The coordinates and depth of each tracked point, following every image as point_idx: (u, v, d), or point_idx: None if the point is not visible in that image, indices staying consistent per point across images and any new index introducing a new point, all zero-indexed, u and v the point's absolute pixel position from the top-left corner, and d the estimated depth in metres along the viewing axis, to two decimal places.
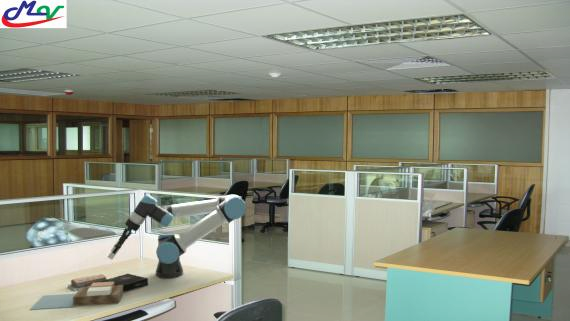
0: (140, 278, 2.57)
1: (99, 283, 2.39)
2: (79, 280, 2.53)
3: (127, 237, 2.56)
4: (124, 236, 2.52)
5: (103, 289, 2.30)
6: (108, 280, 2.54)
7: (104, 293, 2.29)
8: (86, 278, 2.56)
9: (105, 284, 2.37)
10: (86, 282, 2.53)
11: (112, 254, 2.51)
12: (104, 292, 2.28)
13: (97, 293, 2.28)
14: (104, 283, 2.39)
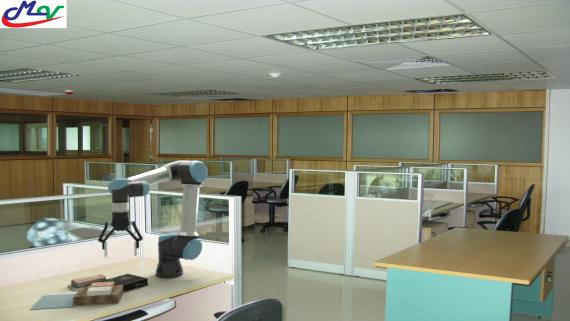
0: (140, 278, 2.57)
1: (99, 283, 2.39)
2: (79, 280, 2.53)
3: (129, 228, 2.34)
4: (136, 227, 2.33)
5: (103, 289, 2.30)
6: (108, 280, 2.54)
7: (104, 293, 2.29)
8: (86, 278, 2.56)
9: (105, 284, 2.37)
10: (86, 282, 2.53)
11: (136, 250, 2.34)
12: (104, 292, 2.28)
13: (97, 293, 2.28)
14: (104, 283, 2.39)
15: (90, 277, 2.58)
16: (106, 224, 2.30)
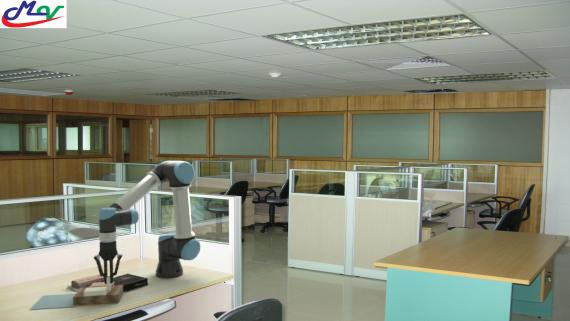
0: (140, 278, 2.57)
1: (99, 283, 2.39)
2: (80, 281, 2.52)
3: None
4: (119, 261, 2.32)
5: (100, 289, 2.30)
6: None
7: (101, 293, 2.28)
8: (86, 278, 2.55)
9: (105, 284, 2.37)
10: (88, 282, 2.53)
11: (110, 285, 2.32)
12: (101, 292, 2.28)
13: (94, 293, 2.28)
14: (104, 283, 2.39)
15: (90, 277, 2.57)
16: (95, 258, 2.29)
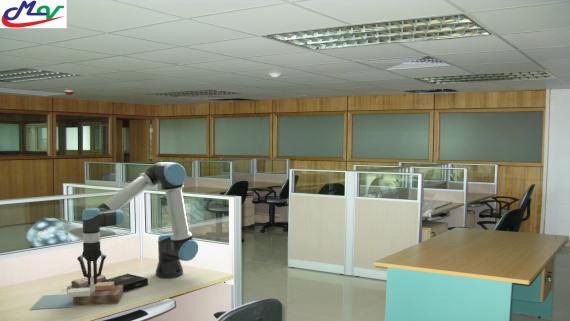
0: (140, 278, 2.57)
1: (99, 283, 2.39)
2: (80, 281, 2.52)
3: (96, 260, 2.31)
4: (103, 262, 2.30)
5: (83, 290, 2.29)
6: (108, 280, 2.54)
7: (84, 294, 2.27)
8: (87, 278, 2.55)
9: (105, 284, 2.37)
10: None
11: (94, 286, 2.30)
12: (84, 293, 2.27)
13: (77, 294, 2.26)
14: (104, 283, 2.39)
15: None
16: (79, 259, 2.27)
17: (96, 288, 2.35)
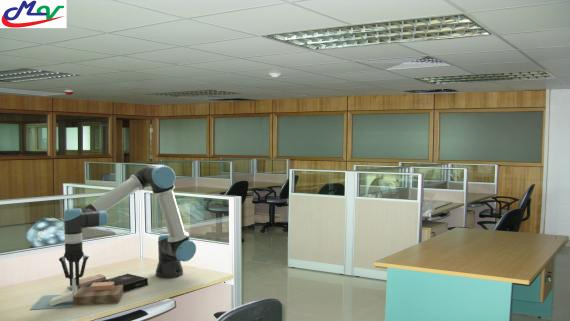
0: (140, 278, 2.57)
1: (99, 283, 2.39)
2: (81, 281, 2.52)
3: None
4: (85, 263, 2.29)
5: (65, 295, 2.27)
6: (108, 280, 2.54)
7: (67, 298, 2.26)
8: (87, 278, 2.55)
9: (105, 284, 2.37)
10: (88, 282, 2.52)
11: (76, 287, 2.29)
12: (66, 298, 2.26)
13: (60, 300, 2.25)
14: (104, 283, 2.39)
15: (90, 277, 2.57)
16: (61, 260, 2.26)
17: (96, 288, 2.35)
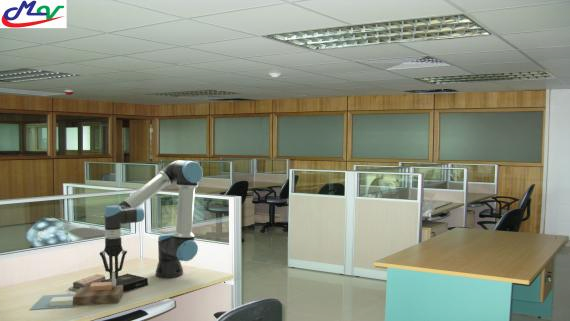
0: (140, 278, 2.57)
1: (98, 283, 2.39)
2: (83, 281, 2.51)
3: None
4: (124, 257, 2.40)
5: (66, 299, 2.28)
6: (108, 280, 2.54)
7: (67, 303, 2.26)
8: (88, 279, 2.54)
9: (104, 284, 2.37)
10: (91, 282, 2.52)
11: (115, 280, 2.40)
12: (67, 302, 2.26)
13: (60, 303, 2.25)
14: (103, 283, 2.39)
15: (90, 278, 2.57)
16: (101, 254, 2.37)
17: (95, 288, 2.35)
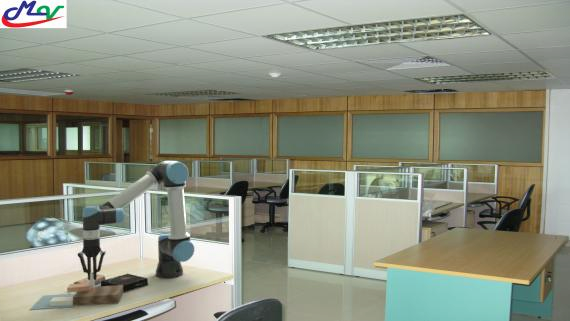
0: (140, 278, 2.57)
1: (76, 284, 2.37)
2: (84, 281, 2.50)
3: (96, 256, 2.39)
4: (102, 258, 2.38)
5: (66, 299, 2.28)
6: (108, 280, 2.54)
7: (67, 303, 2.26)
8: None
9: (82, 286, 2.35)
10: None
11: (93, 281, 2.38)
12: (67, 302, 2.26)
13: (60, 303, 2.25)
14: (81, 284, 2.37)
15: None
16: (79, 255, 2.35)
17: (73, 289, 2.33)
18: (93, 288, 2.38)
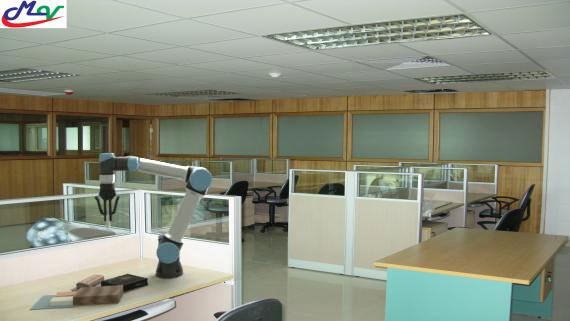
0: (140, 278, 2.57)
1: (64, 293, 2.37)
2: (87, 282, 2.50)
3: (111, 200, 2.58)
4: (117, 201, 2.57)
5: (66, 299, 2.28)
6: (108, 280, 2.54)
7: (67, 303, 2.26)
8: (89, 279, 2.54)
9: (70, 294, 2.34)
10: (94, 282, 2.52)
11: (109, 222, 2.57)
12: (67, 302, 2.26)
13: (60, 303, 2.25)
14: (69, 293, 2.37)
15: (91, 278, 2.56)
16: (96, 198, 2.54)
17: None
18: (93, 288, 2.38)
